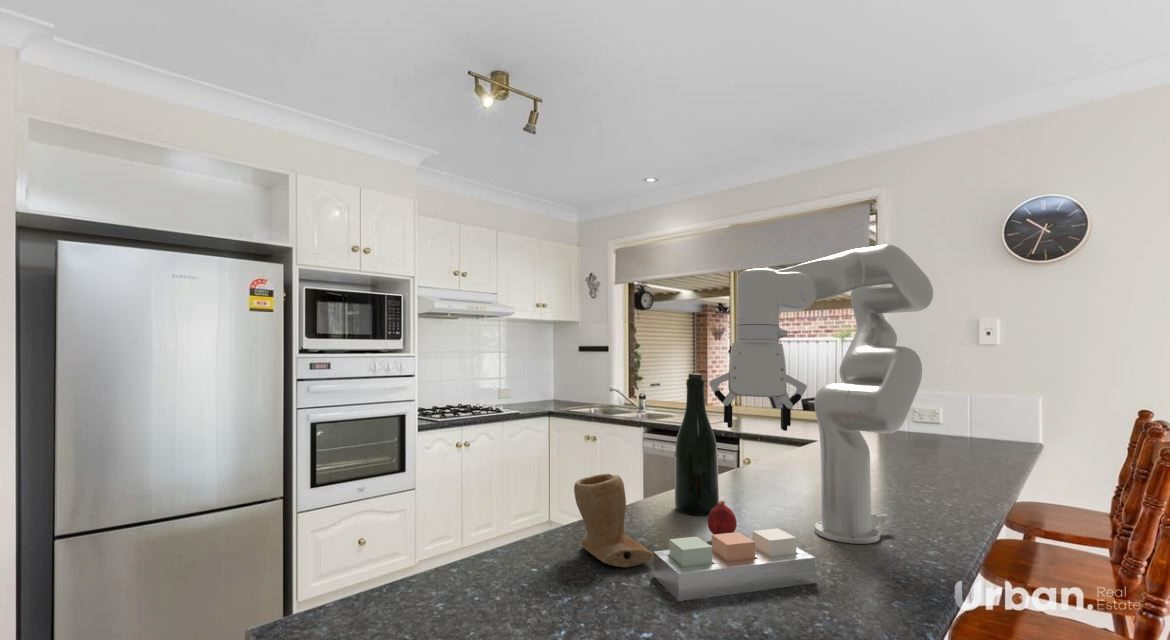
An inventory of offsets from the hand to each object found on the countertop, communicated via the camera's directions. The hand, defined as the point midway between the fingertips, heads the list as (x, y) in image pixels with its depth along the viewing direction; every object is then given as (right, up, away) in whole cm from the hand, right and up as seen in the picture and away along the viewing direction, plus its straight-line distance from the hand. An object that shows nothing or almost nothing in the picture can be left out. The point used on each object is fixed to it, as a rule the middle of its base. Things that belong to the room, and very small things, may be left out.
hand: (756, 428), depth 104 cm
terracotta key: (-6, -20, -8) cm, 23 cm away
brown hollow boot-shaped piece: (-27, -25, +2) cm, 37 cm away
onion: (-4, -25, +11) cm, 28 cm away
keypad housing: (-6, -24, -8) cm, 26 cm away
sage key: (-14, -20, -10) cm, 27 cm away
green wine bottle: (-5, -26, +33) cm, 42 cm away
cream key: (+1, -20, -6) cm, 21 cm away
